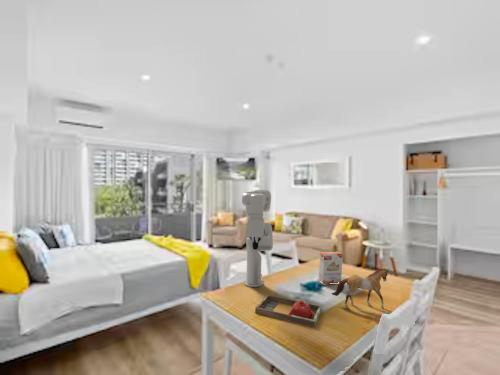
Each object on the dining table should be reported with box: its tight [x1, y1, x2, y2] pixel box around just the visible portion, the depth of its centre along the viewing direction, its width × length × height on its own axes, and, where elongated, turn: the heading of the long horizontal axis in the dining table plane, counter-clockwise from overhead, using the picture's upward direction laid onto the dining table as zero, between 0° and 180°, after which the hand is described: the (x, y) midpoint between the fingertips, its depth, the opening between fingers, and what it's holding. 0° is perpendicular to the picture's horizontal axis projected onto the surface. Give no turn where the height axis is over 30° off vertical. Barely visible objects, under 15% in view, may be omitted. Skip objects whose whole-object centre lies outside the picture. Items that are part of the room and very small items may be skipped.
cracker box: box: [318, 251, 343, 284], centre depth 181 cm, size 14×6×21 cm, turn 105°
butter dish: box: [288, 299, 315, 320], centre depth 136 cm, size 12×12×8 cm
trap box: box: [255, 294, 322, 328], centre depth 140 cm, size 18×30×3 cm, turn 65°
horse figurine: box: [331, 268, 389, 309], centre depth 149 cm, size 31×8×21 cm, turn 91°
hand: (255, 248), depth 152 cm, fingers closed
